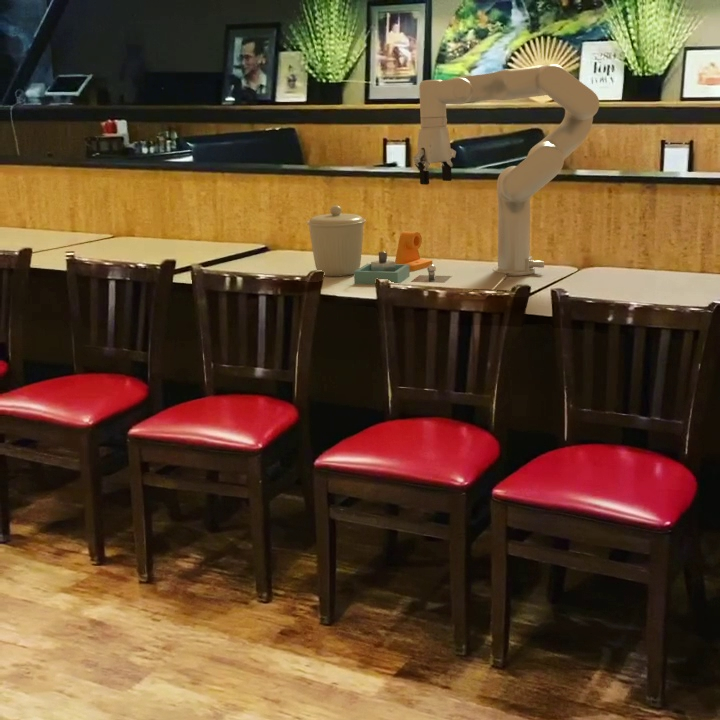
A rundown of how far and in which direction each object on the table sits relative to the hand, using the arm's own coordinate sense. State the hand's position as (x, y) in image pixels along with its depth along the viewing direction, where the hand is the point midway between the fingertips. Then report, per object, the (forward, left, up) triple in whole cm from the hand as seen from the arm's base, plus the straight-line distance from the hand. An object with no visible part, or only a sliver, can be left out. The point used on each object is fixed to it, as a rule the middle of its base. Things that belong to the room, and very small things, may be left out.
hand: (436, 182), depth 311 cm
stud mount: (-1, +12, -28) cm, 30 cm away
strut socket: (+13, +15, -27) cm, 33 cm away
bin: (+13, +15, -28) cm, 34 cm away
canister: (+31, +3, -28) cm, 42 cm away
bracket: (+9, -6, -28) cm, 30 cm away
